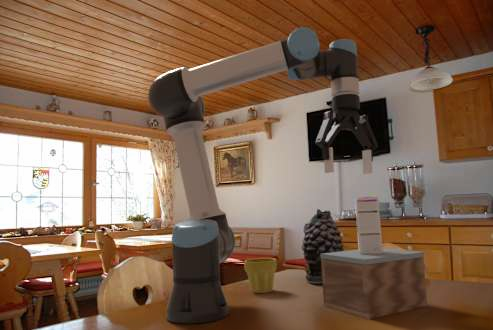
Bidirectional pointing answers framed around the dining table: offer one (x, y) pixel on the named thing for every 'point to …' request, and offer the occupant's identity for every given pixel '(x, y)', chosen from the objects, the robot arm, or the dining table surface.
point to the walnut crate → (374, 287)
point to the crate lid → (372, 256)
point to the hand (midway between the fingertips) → (349, 173)
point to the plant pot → (261, 274)
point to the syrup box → (368, 225)
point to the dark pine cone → (319, 243)
